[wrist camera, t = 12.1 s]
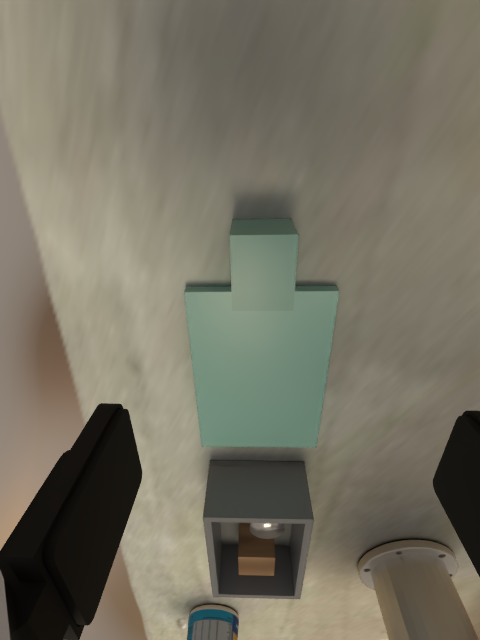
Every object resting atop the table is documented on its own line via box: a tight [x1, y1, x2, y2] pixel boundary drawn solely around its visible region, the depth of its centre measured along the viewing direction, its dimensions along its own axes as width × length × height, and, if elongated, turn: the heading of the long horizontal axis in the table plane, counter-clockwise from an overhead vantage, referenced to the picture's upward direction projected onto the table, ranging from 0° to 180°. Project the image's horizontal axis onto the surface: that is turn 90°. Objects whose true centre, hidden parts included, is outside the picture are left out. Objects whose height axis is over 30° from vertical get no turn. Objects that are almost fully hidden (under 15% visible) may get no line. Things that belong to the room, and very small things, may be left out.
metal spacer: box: [250, 523, 285, 539], centre depth 35 cm, size 4×4×4 cm
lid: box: [184, 219, 339, 448], centre depth 26 cm, size 22×11×4 cm, turn 1°
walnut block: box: [238, 523, 275, 576], centre depth 38 cm, size 4×4×4 cm
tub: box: [203, 460, 314, 599], centre depth 36 cm, size 16×10×6 cm, turn 1°
